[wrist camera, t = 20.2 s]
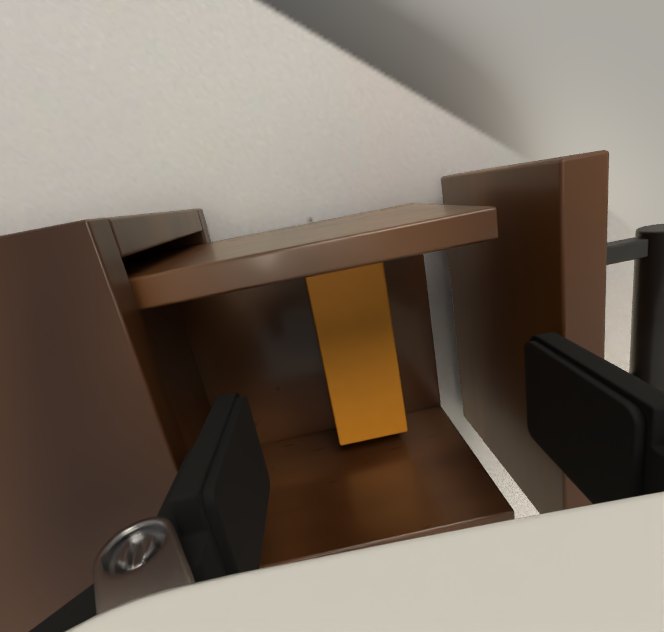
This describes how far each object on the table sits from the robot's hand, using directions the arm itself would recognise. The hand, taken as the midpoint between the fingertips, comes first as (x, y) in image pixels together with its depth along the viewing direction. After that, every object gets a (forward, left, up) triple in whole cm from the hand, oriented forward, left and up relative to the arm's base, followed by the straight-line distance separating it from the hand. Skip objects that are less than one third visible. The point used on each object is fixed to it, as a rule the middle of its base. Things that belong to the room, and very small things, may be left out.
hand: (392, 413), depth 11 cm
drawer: (-1, 0, -8) cm, 8 cm away
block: (0, 0, -6) cm, 6 cm away
